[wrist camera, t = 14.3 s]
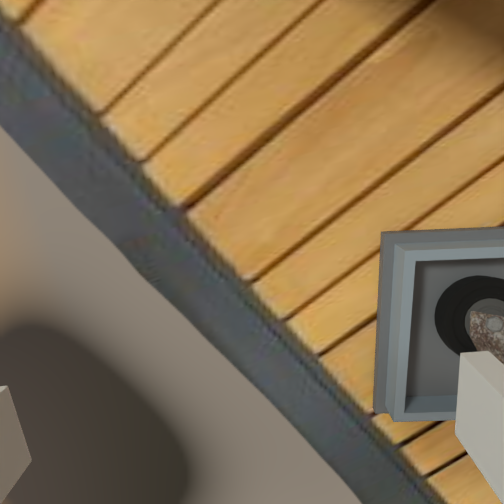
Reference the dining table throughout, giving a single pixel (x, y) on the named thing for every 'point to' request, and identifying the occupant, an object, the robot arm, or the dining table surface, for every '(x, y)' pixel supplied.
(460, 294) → the caster wheel
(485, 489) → the dining table surface
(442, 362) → the tray
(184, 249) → the dining table surface
